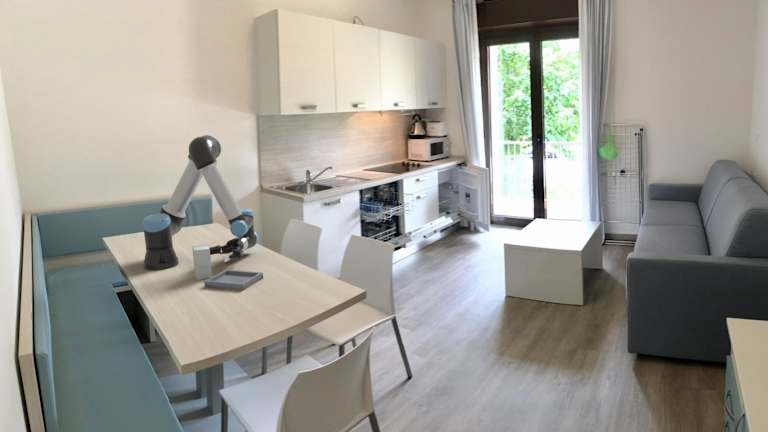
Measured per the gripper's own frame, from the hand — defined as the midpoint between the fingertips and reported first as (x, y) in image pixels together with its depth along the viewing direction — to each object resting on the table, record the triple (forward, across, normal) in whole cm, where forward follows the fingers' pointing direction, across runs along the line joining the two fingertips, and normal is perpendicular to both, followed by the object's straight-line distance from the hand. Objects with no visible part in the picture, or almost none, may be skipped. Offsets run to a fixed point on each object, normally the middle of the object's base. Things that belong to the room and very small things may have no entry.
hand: (210, 258), depth 244 cm
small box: (+5, +1, -7) cm, 9 cm away
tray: (+9, -17, -7) cm, 20 cm away
